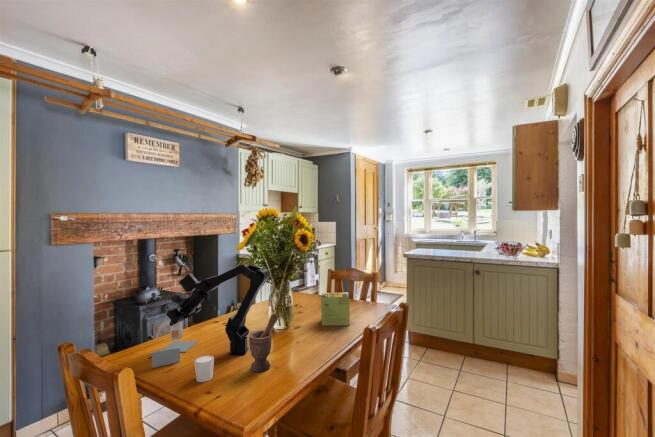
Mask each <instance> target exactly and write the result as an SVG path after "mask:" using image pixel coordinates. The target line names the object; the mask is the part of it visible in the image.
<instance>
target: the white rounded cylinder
mask: <svg viewBox="0 0 655 437" xmlns="http://www.w3.org/2000/svg"><path fill="white" fill-rule="evenodd" d="M170 338H171V340H173V341H178V340H180V339H183V320H182V321H180V322H178V323H176V324H174V325H172V326H170Z"/></svg>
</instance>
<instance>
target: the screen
mask: <svg viewBox="0 0 655 437" xmlns="http://www.w3.org/2000/svg"><path fill="white" fill-rule="evenodd" d="M180 362H181V353H180V346H179V347H174V348H169V349H164V350H162V349H160V350H154V351H151V368H152V369H154V368H158V367H163V366H168V365H173V364H176V363H180Z"/></svg>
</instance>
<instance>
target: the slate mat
mask: <svg viewBox="0 0 655 437" xmlns="http://www.w3.org/2000/svg"><path fill="white" fill-rule="evenodd" d="M198 342H199V341H198V340H173V341H171V342H170V343H168V345H166V346H165V347H163V348H162V349H161V350H164V349H169V348H174V347H179V346H180V354H181V353H187V352H188V351H189V350H190V349H191V348H193V347H194V346H195V345H196V344H197V343H198Z"/></svg>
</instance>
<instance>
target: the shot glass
mask: <svg viewBox="0 0 655 437" xmlns="http://www.w3.org/2000/svg"><path fill="white" fill-rule="evenodd" d="M193 362H194V370H195V371H194V372H195V379H196V382H198V383H205V382H208V381H210V380H211V379H213V377H214V365H215V364H214V363H215V357H214V356H213V355H203V356H198V357H197V358H196V359H194V361H193Z"/></svg>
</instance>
